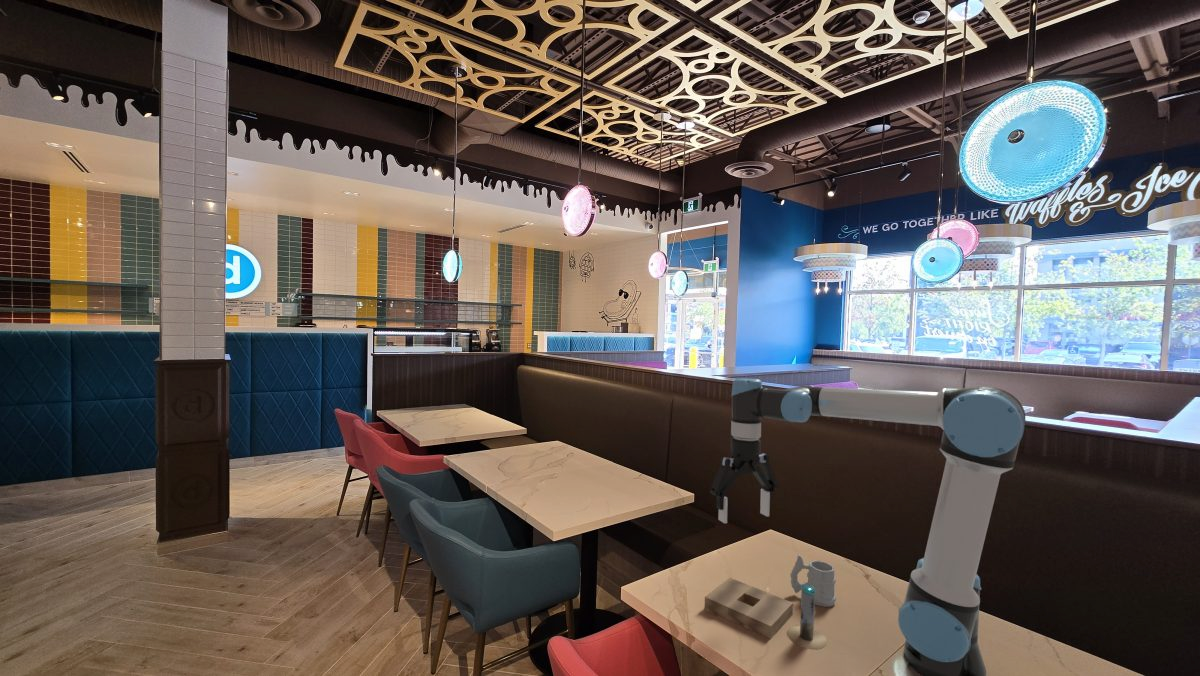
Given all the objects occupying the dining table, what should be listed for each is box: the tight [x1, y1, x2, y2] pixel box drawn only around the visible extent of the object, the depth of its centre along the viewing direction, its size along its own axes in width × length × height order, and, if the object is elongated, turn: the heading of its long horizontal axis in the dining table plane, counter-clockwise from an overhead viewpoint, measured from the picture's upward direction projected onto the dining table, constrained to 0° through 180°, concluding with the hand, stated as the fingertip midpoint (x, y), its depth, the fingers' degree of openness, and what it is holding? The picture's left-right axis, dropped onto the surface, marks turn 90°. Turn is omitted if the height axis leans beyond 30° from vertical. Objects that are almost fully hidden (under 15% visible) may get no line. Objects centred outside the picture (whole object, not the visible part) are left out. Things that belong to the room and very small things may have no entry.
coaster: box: [786, 625, 828, 650], centre depth 119 cm, size 9×9×1 cm
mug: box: [789, 553, 837, 608], centre depth 136 cm, size 8×12×12 cm, turn 73°
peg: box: [799, 585, 816, 641], centre depth 119 cm, size 3×3×12 cm
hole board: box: [704, 577, 794, 640], centre depth 129 cm, size 18×14×4 cm
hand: (744, 518), depth 129 cm, fingers open, 13 cm apart
